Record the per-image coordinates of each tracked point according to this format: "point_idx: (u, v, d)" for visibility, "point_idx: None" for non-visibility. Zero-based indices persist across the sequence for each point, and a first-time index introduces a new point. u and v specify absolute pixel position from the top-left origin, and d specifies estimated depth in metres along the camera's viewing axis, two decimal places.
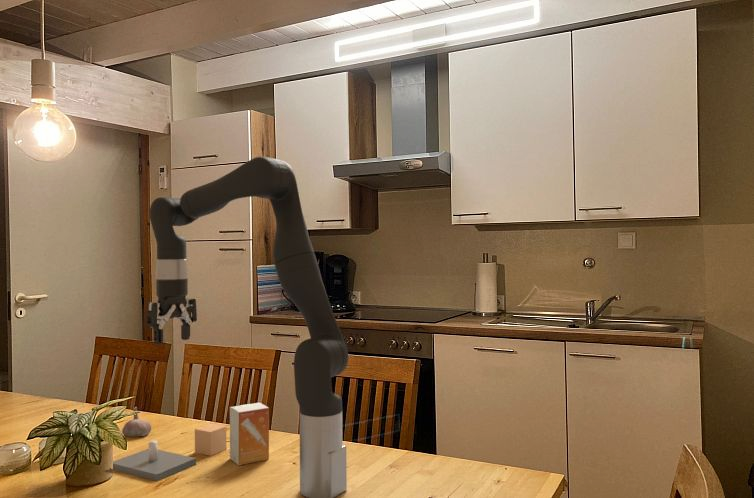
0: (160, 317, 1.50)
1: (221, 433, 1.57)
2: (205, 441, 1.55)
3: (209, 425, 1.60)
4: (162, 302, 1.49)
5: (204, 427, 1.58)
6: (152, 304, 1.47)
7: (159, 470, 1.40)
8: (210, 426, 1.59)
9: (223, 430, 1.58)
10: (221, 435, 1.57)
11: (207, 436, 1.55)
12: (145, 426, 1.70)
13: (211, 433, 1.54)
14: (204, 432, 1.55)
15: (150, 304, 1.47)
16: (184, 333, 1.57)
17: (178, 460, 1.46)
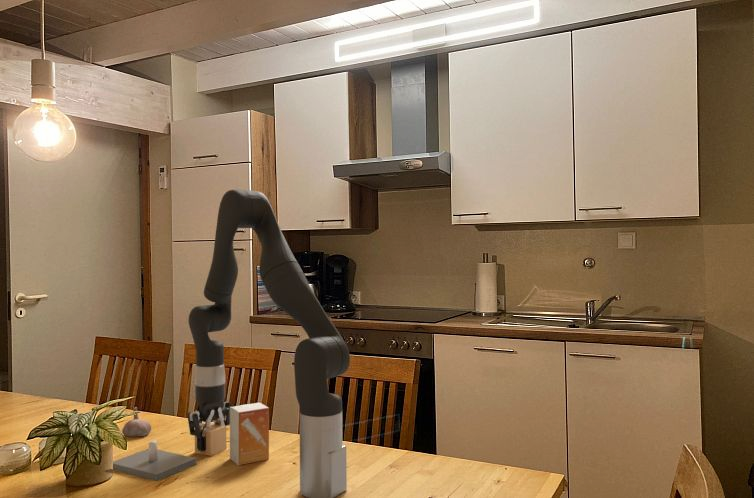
0: (201, 424, 1.55)
1: (221, 433, 1.57)
2: None
3: None
4: (201, 409, 1.54)
5: None
6: (193, 416, 1.52)
7: (159, 470, 1.40)
8: (210, 427, 1.59)
9: (223, 430, 1.58)
10: (221, 435, 1.57)
11: (207, 436, 1.55)
12: (145, 426, 1.70)
13: (211, 433, 1.54)
14: None
15: (191, 415, 1.52)
16: None
17: (178, 460, 1.46)
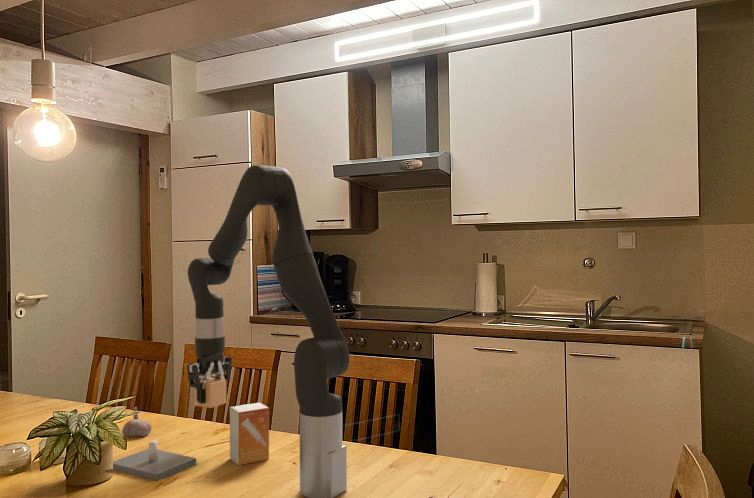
0: (201, 377, 1.55)
1: (220, 387, 1.57)
2: None
3: (209, 379, 1.60)
4: (201, 361, 1.54)
5: None
6: (192, 367, 1.52)
7: (159, 470, 1.40)
8: (210, 380, 1.58)
9: (223, 383, 1.58)
10: (221, 388, 1.57)
11: (206, 389, 1.55)
12: (145, 426, 1.70)
13: (211, 385, 1.54)
14: None
15: (190, 367, 1.52)
16: None
17: (178, 460, 1.46)
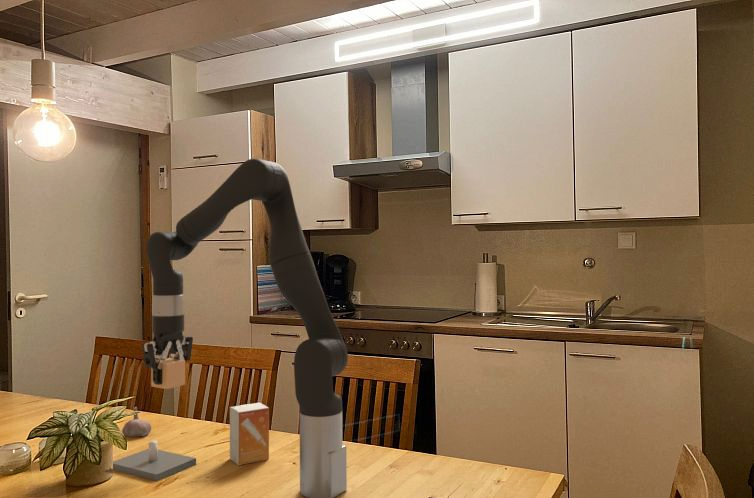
0: (158, 356, 1.47)
1: (179, 367, 1.49)
2: None
3: (167, 359, 1.52)
4: (157, 340, 1.46)
5: None
6: (147, 346, 1.44)
7: (159, 470, 1.40)
8: (168, 360, 1.51)
9: (181, 364, 1.50)
10: (179, 369, 1.49)
11: (163, 369, 1.47)
12: (145, 426, 1.70)
13: (167, 365, 1.47)
14: None
15: (145, 345, 1.44)
16: None
17: (178, 460, 1.46)
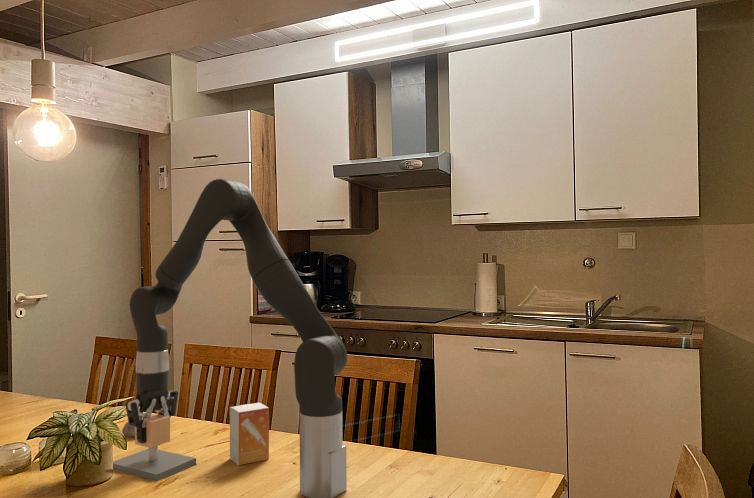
0: (142, 414, 1.44)
1: (163, 424, 1.46)
2: None
3: (152, 415, 1.49)
4: (141, 398, 1.43)
5: None
6: (131, 405, 1.41)
7: (159, 470, 1.40)
8: (152, 417, 1.47)
9: (166, 421, 1.47)
10: (163, 426, 1.46)
11: (147, 427, 1.44)
12: None
13: (152, 424, 1.43)
14: None
15: (129, 404, 1.41)
16: None
17: (178, 460, 1.46)
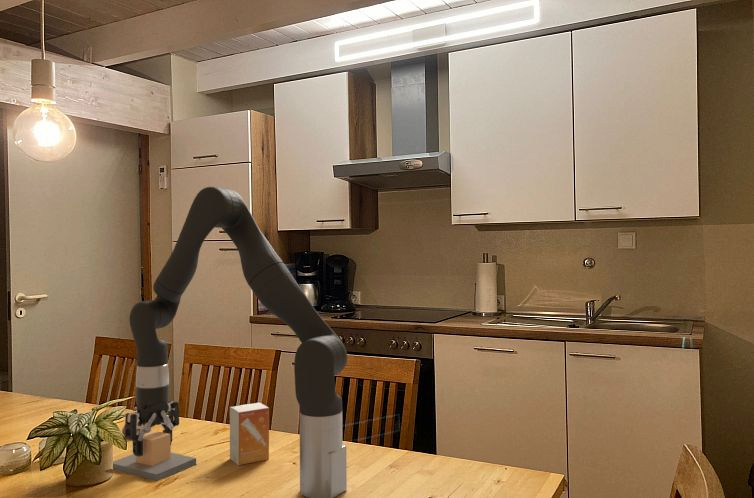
0: (140, 427, 1.43)
1: (164, 442, 1.46)
2: (146, 450, 1.44)
3: (152, 433, 1.49)
4: (142, 412, 1.43)
5: (146, 435, 1.47)
6: (131, 416, 1.41)
7: (159, 470, 1.40)
8: (152, 434, 1.47)
9: (167, 438, 1.47)
10: (164, 444, 1.46)
11: (148, 445, 1.44)
12: None
13: (152, 441, 1.43)
14: (145, 441, 1.44)
15: (129, 416, 1.41)
16: None
17: (178, 460, 1.46)
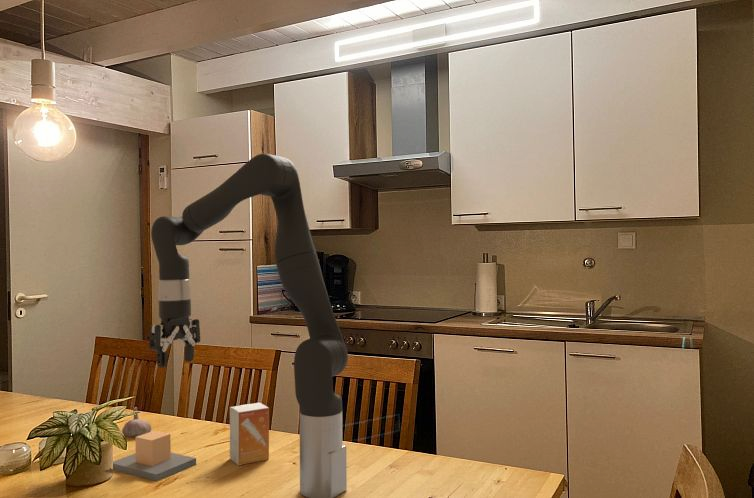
0: (163, 339, 1.46)
1: (164, 442, 1.46)
2: (146, 450, 1.44)
3: (152, 433, 1.49)
4: (165, 324, 1.46)
5: (146, 435, 1.47)
6: (155, 326, 1.43)
7: (159, 470, 1.40)
8: (152, 434, 1.47)
9: (167, 438, 1.47)
10: (164, 444, 1.46)
11: (148, 445, 1.44)
12: (145, 426, 1.70)
13: (152, 441, 1.43)
14: (145, 441, 1.44)
15: (153, 326, 1.44)
16: (187, 355, 1.53)
17: (178, 460, 1.46)
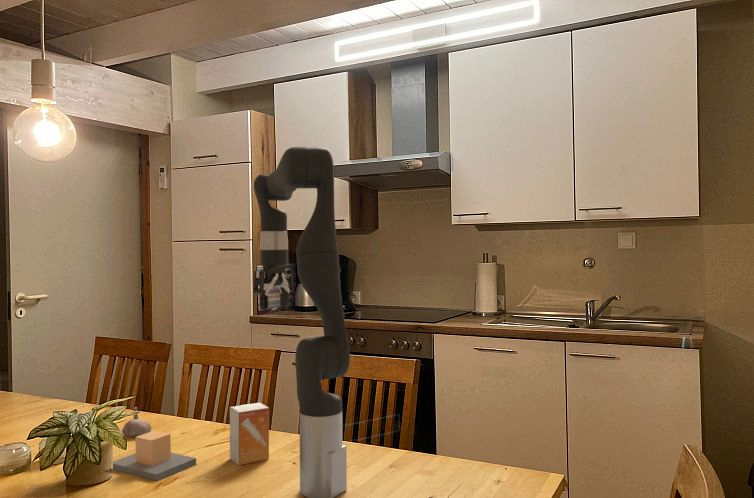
0: (265, 284, 1.62)
1: (164, 442, 1.46)
2: (146, 450, 1.44)
3: (152, 433, 1.49)
4: (267, 270, 1.61)
5: (146, 435, 1.47)
6: (260, 272, 1.59)
7: (159, 470, 1.40)
8: (152, 434, 1.47)
9: (167, 438, 1.47)
10: (164, 444, 1.46)
11: (148, 445, 1.44)
12: (145, 426, 1.70)
13: (152, 441, 1.43)
14: (145, 441, 1.44)
15: (257, 272, 1.59)
16: (283, 301, 1.69)
17: (178, 460, 1.46)
